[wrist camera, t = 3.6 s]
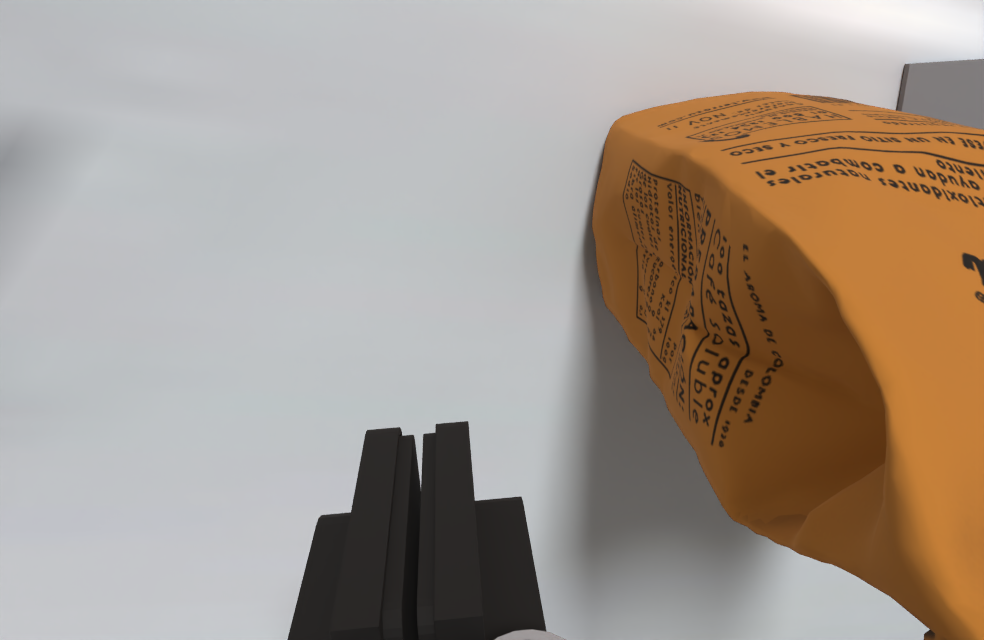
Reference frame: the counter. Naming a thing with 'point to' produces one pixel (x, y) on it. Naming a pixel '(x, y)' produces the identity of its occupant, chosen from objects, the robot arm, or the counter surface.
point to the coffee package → (816, 325)
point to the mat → (945, 91)
